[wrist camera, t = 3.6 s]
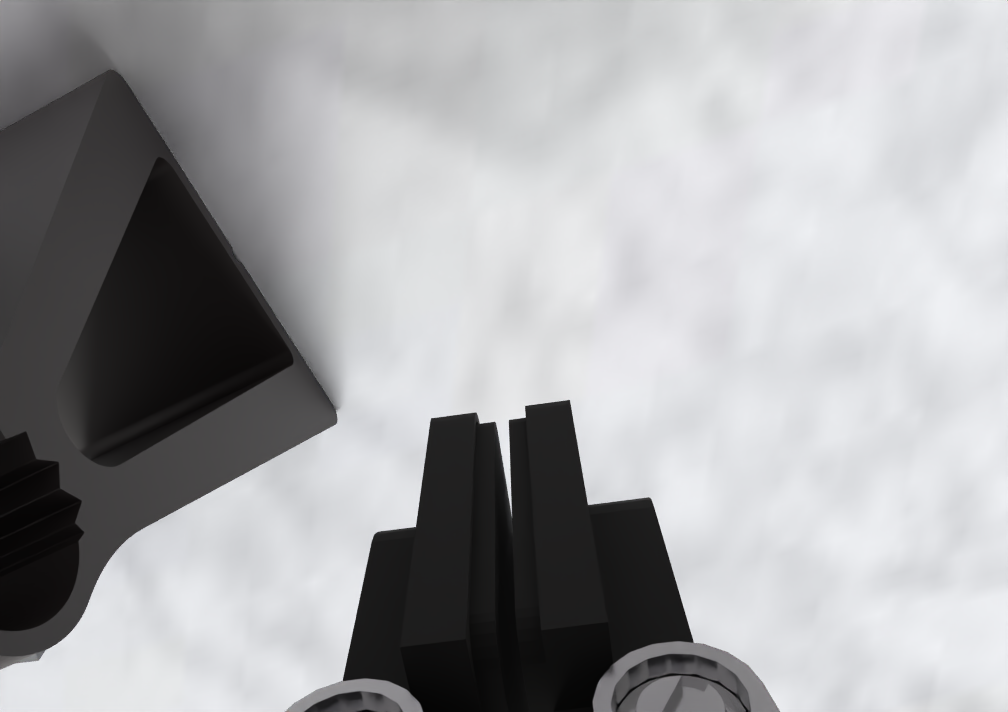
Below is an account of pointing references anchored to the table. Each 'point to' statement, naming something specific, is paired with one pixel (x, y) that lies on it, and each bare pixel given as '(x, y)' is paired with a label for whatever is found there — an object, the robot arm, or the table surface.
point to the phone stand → (119, 355)
